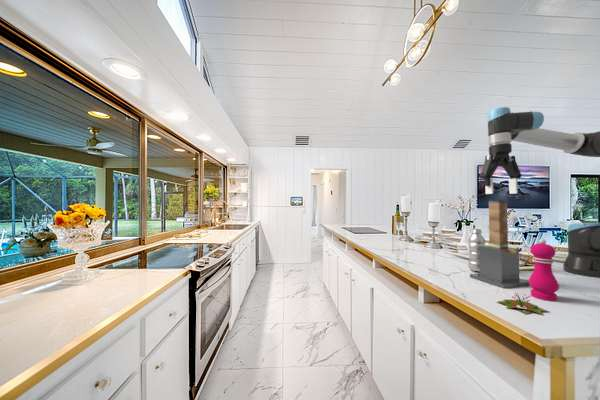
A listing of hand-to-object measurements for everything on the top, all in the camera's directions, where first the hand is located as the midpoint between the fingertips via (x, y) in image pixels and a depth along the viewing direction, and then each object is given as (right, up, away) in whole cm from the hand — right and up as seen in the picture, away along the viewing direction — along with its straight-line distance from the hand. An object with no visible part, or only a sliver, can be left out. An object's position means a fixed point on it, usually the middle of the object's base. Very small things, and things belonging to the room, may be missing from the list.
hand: (501, 193), depth 103 cm
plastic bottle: (-2, -37, +11) cm, 39 cm away
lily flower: (-18, -37, -28) cm, 50 cm away
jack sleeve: (-4, -36, -4) cm, 37 cm away
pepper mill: (-3, -36, -21) cm, 42 cm away
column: (-4, -28, -3) cm, 28 cm away
